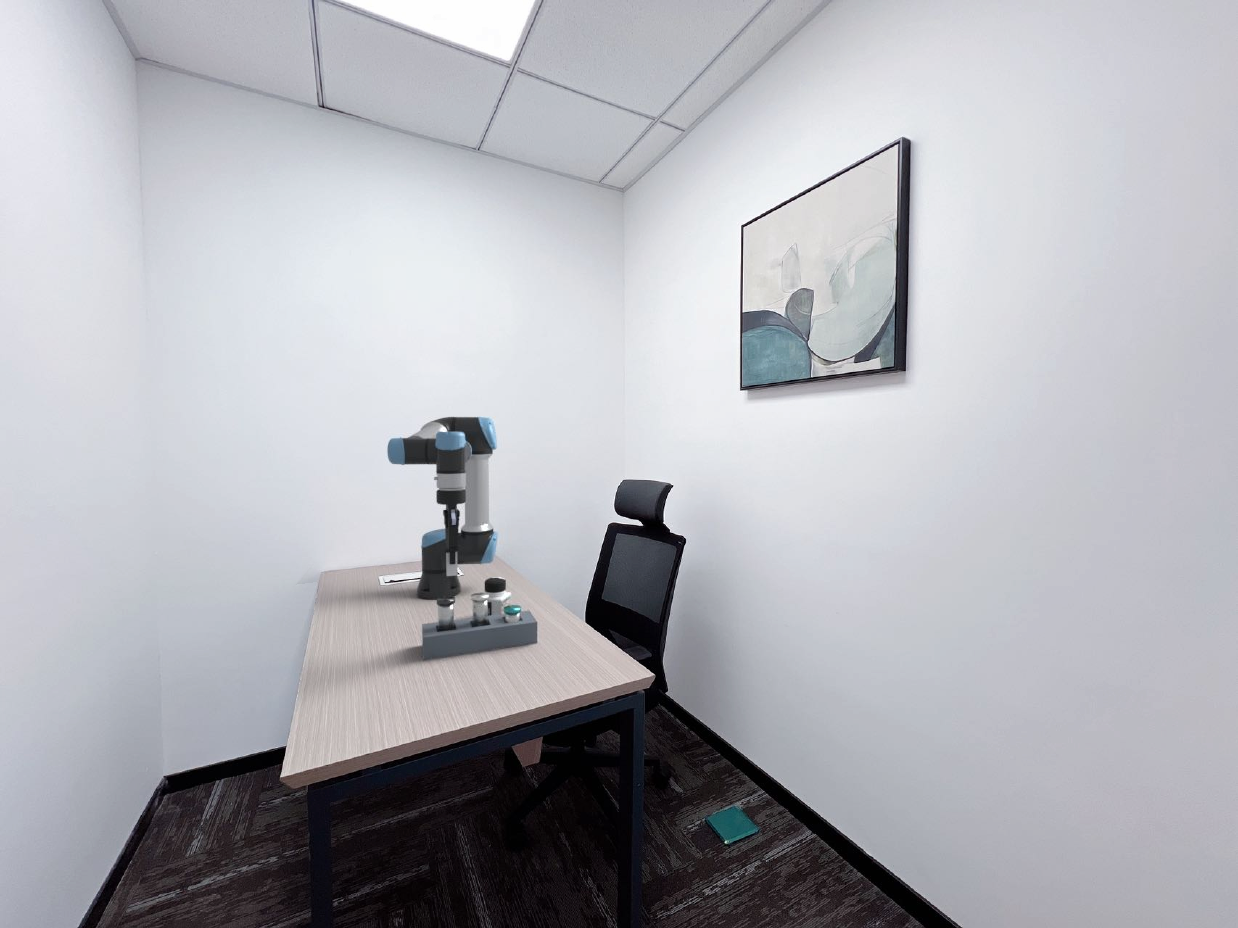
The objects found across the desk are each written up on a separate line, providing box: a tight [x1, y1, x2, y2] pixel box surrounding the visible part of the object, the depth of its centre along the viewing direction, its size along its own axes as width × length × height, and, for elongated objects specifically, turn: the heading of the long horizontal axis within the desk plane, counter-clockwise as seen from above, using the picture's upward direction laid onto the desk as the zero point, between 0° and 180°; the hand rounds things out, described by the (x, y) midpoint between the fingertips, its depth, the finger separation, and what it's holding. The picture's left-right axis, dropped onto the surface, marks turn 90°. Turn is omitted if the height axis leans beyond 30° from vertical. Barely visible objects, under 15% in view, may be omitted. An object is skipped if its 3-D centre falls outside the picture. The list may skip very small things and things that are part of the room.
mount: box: [421, 610, 538, 661], centre depth 141 cm, size 10×30×6 cm, turn 113°
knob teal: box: [504, 604, 522, 623], centre depth 145 cm, size 5×5×8 cm
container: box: [484, 576, 512, 616], centre depth 160 cm, size 8×8×13 cm
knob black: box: [436, 596, 456, 632], centre depth 137 cm, size 5×5×8 cm
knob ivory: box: [470, 592, 489, 627], centre depth 141 cm, size 5×5×8 cm
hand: (452, 574), depth 137 cm, fingers closed
